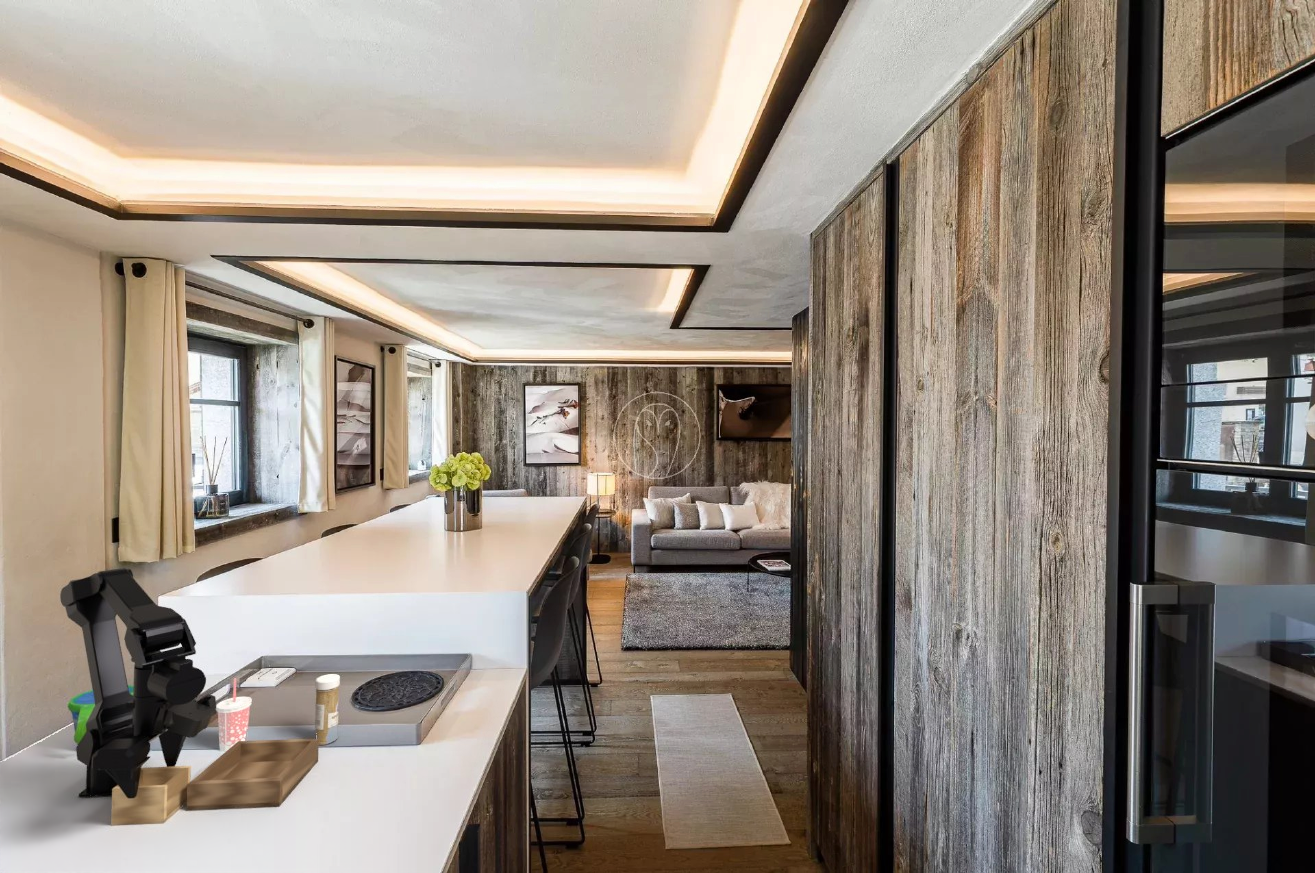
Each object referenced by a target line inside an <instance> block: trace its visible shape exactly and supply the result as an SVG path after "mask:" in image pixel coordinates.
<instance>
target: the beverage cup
mask: <svg viewBox="0 0 1315 873" xmlns="http://www.w3.org/2000/svg"><path fill="white" fill-rule="evenodd" d="M232 684H233V687H232V690H233V691H232V697H230V698H227V699H224V700H221V701H220V702H218V703H216V710H217V718H218V719H217V720H218V723H217V724H218V740H219V741H218V743H219V751H221V752H224V753H225V752H226V751H227V750H228V749H230V748H231V747H232V746H233V745H234V744H236V743H237V742H238V741H245V738H246V731H247V729H248V728H249V718H250V710H251V709H250V708H251V706H252V702H253V700H252V697H250V696H237V678H236V677H234V678H233V683H232ZM248 730H249V729H248ZM247 732H248V731H247Z"/></svg>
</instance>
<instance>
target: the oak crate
mask: <svg viewBox="0 0 1315 873" xmlns="http://www.w3.org/2000/svg"><path fill="white" fill-rule="evenodd" d="M191 768H192V767H191V765H180V766H177V765H175V766H172V767H167V766H150V767H148V766H146V767H145V766H144V767H141V772H140V779H139V786H138V791H137V796H136V797H135V798H130V799H129V798H127V797H126V795H125V794H124V793H123V791H122V790H121V788H120V787H119V786H118V785H117V786H116V787H114V788H113V789H112V796H111V818H110V819H111V821H110V824H111V826H128V825H129V826H130V825H131V826H132V825H150V824H151V825H152V824H165V823H166V822H167V821H168V820H169V819H170V818H172V816H174V815H175V814H176V813H177V812H178V811H179V810H180V809H181V808H182V807H184V806H185V805H187V784H188V783H190V782H191V773H192V770H191Z"/></svg>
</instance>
